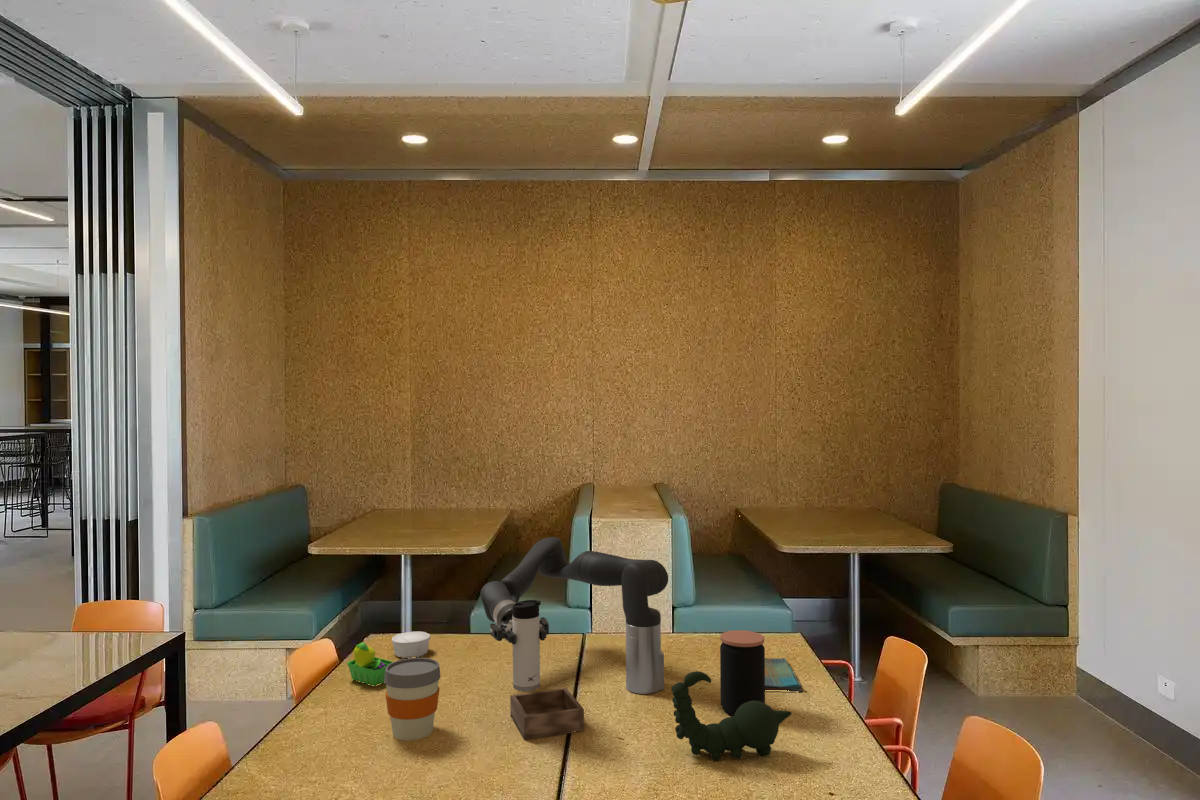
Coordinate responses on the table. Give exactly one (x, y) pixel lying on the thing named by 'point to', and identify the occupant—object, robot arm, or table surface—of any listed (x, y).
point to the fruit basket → (367, 665)
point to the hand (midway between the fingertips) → (528, 638)
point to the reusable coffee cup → (412, 696)
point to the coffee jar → (741, 669)
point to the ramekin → (411, 644)
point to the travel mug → (526, 645)
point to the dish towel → (780, 676)
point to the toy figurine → (725, 724)
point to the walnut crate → (546, 713)
